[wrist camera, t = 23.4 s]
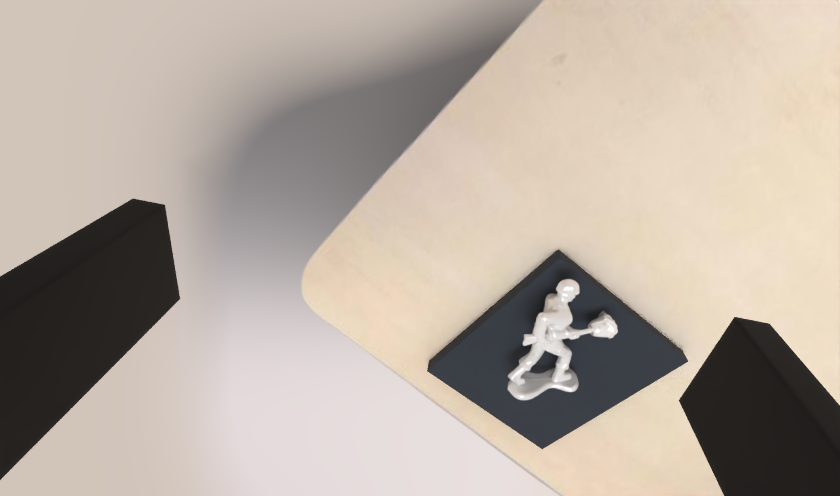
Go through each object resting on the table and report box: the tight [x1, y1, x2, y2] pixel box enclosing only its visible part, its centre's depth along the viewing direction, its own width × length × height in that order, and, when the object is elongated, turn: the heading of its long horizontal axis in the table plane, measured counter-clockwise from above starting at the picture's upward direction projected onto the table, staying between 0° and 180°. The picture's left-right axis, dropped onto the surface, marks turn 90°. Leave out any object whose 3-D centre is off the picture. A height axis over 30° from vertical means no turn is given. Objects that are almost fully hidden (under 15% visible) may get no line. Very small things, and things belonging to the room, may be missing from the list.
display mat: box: [427, 250, 688, 449], centre depth 45 cm, size 17×19×2 cm
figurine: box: [508, 279, 618, 400], centre depth 40 cm, size 5×9×12 cm
